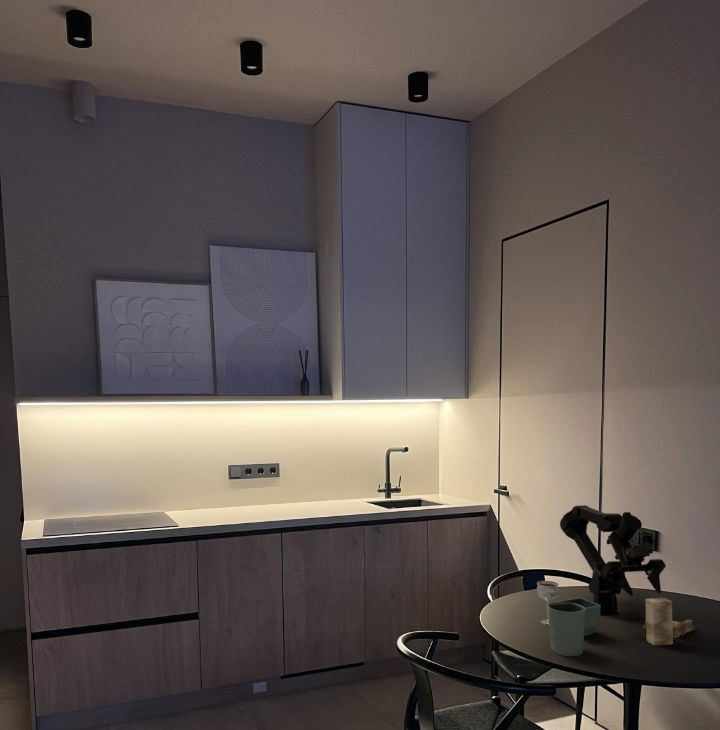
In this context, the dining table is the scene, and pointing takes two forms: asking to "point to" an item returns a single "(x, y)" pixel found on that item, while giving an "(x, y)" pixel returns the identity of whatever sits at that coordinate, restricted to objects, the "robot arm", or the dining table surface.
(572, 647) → the green cup
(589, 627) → the flower pot
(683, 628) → the wooden tray
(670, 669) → the dining table surface
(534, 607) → the dining table surface
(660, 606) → the wooden block
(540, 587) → the wineglass
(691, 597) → the dining table surface
